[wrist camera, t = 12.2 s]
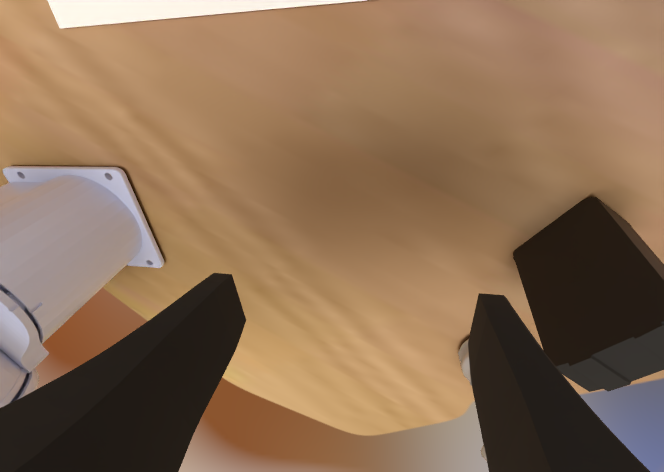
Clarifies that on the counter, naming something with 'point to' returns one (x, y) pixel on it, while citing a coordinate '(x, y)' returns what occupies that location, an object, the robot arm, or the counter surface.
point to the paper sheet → (159, 9)
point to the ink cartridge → (595, 297)
